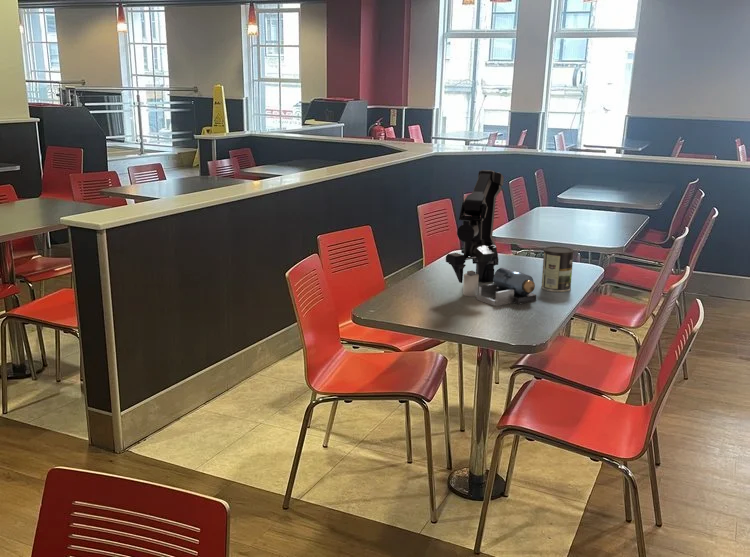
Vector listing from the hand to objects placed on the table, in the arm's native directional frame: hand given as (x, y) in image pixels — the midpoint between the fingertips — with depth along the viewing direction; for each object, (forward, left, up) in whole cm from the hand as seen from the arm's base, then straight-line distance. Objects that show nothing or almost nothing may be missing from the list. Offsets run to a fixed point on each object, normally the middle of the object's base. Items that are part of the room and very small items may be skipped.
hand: (471, 280), depth 237 cm
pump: (0, 0, -5) cm, 5 cm away
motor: (+11, +6, -5) cm, 13 cm away
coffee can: (+10, +31, -5) cm, 33 cm away
